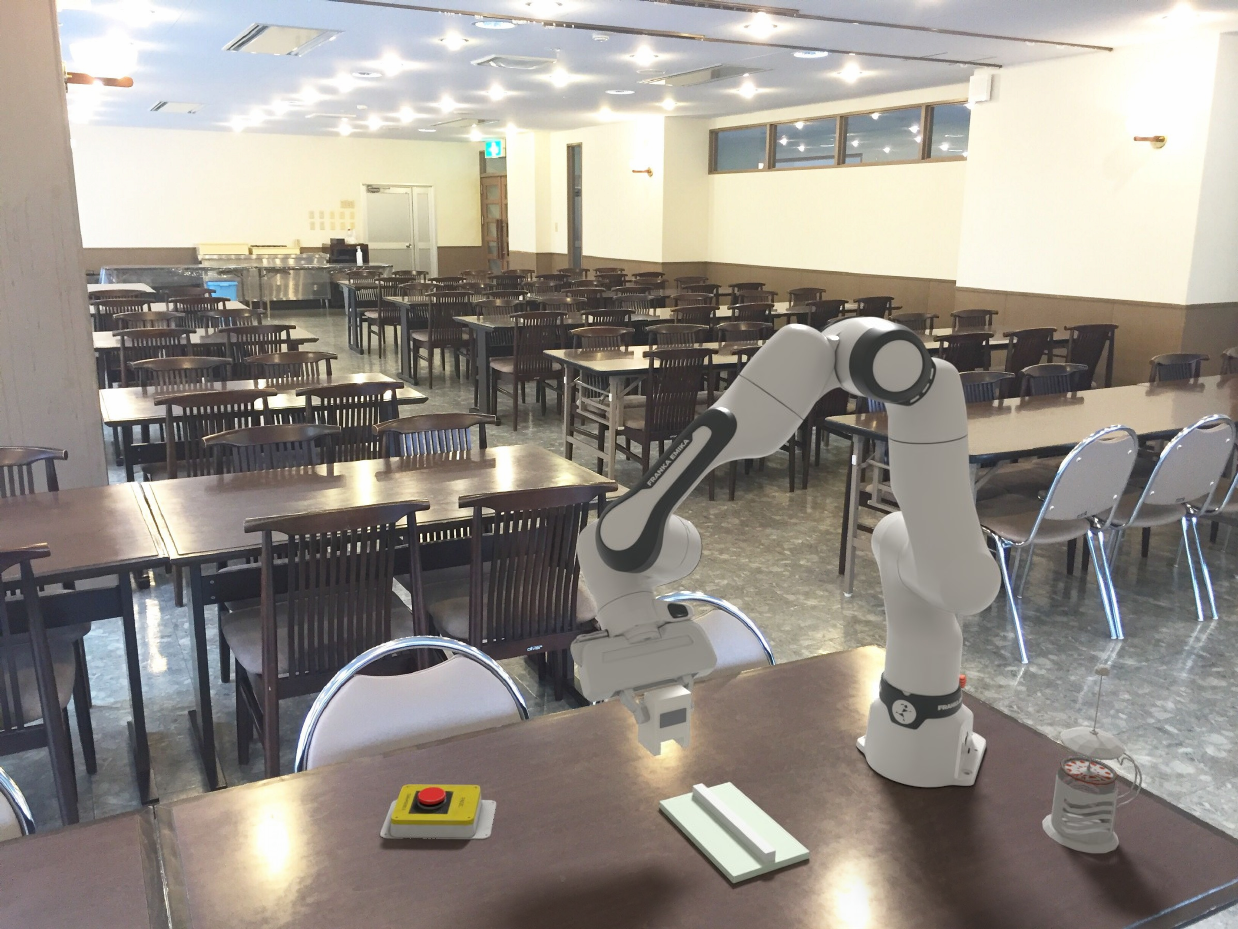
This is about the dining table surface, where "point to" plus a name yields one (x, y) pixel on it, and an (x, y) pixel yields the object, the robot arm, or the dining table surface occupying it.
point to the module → (665, 718)
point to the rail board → (733, 831)
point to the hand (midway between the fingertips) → (666, 716)
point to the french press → (1088, 789)
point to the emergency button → (439, 813)
